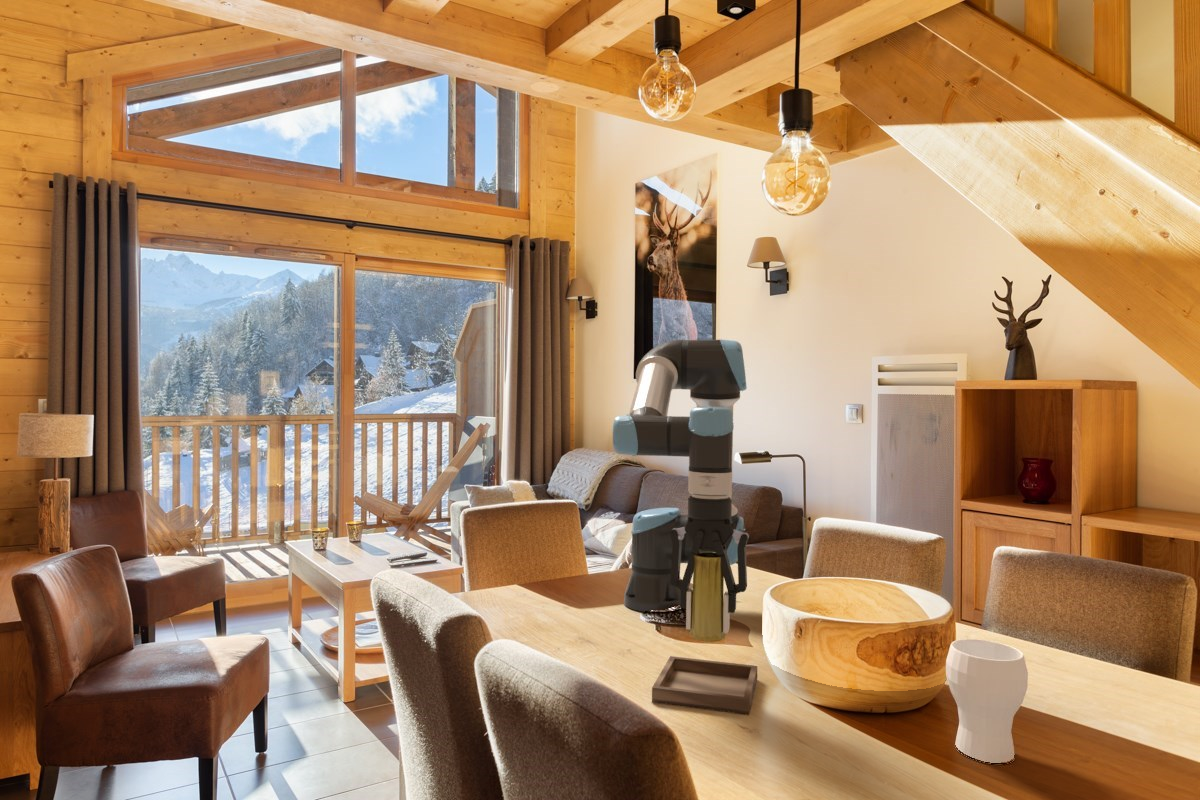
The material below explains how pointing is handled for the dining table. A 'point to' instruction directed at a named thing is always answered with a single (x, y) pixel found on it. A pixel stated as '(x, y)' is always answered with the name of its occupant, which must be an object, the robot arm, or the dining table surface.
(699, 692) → the walnut tray
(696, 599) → the vase
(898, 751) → the dining table surface
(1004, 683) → the cup
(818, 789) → the dining table surface
